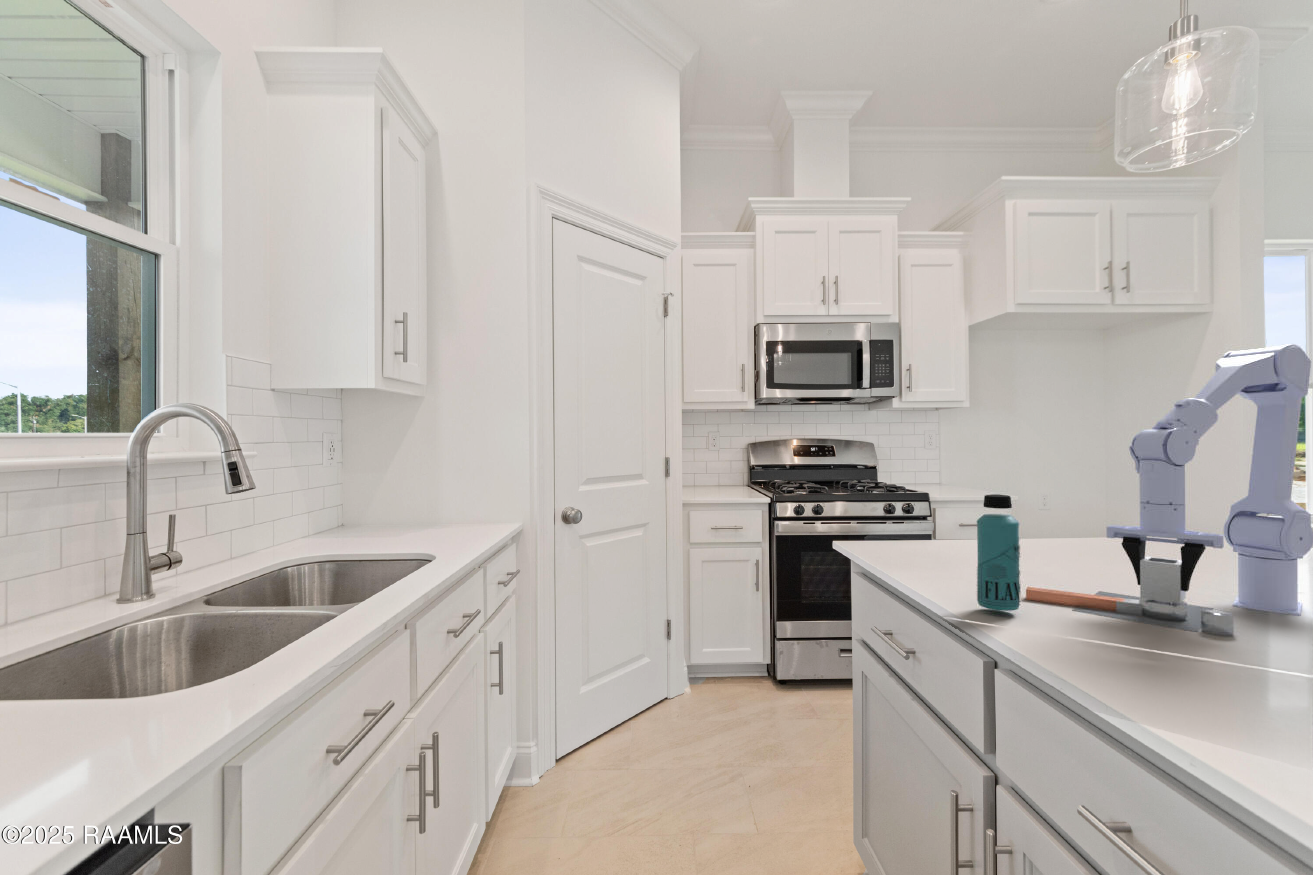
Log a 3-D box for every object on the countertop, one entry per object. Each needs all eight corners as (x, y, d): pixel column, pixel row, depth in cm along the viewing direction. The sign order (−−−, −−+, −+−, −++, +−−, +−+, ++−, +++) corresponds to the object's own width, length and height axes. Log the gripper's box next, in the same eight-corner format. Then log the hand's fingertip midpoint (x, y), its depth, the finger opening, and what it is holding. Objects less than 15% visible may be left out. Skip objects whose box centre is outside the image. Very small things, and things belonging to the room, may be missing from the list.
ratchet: (1185, 614, 101) (1185, 587, 101) (1188, 623, 96) (1188, 594, 96) (1029, 594, 114) (1029, 570, 114) (1024, 601, 109) (1024, 576, 109)
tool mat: (1099, 592, 116) (1099, 590, 116) (1213, 609, 104) (1213, 608, 104) (1071, 612, 104) (1071, 610, 104) (1197, 634, 92) (1197, 632, 92)
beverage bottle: (978, 617, 101) (977, 495, 101) (974, 607, 107) (973, 492, 107) (1024, 622, 99) (1023, 497, 99) (1017, 610, 105) (1016, 493, 105)
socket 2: (1203, 629, 95) (1202, 608, 94) (1235, 634, 92) (1235, 613, 92) (1199, 634, 92) (1199, 613, 92) (1232, 640, 89) (1232, 618, 89)
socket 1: (1146, 591, 104) (1146, 556, 104) (1185, 597, 100) (1185, 560, 100) (1140, 597, 100) (1140, 560, 100) (1180, 603, 97) (1180, 565, 97)
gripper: (1101, 501, 103) (1102, 583, 103) (1219, 509, 92) (1219, 600, 92) (1112, 498, 107) (1112, 576, 108) (1224, 504, 97) (1225, 591, 97)
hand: (1162, 587), depth 100 cm, fingers closed on socket 1, 5 cm apart
